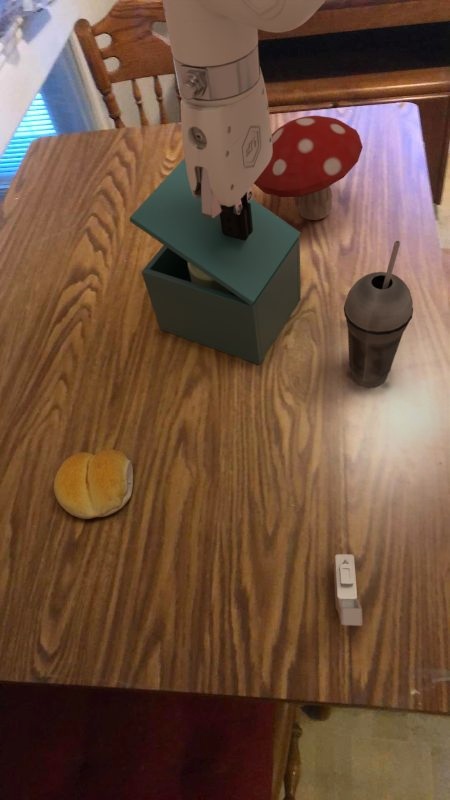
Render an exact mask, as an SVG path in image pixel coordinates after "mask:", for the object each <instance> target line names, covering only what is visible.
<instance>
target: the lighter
mask: <svg viewBox="0 0 450 800" xmlns="http://www.w3.org/2000/svg"><path fill="white" fill-rule="evenodd" d="M355 563H356V562H355V556H354V555H353V554H352V553H351V554H350V553H349V554H346V553H345V554H343V553H342V554H341V553H340V554H339V553H336V555H335V556H334V564H333V584H334V600H335V601H334V603H335V610H336V611H337V613H338V618H339V621H340V625H341V626H363V607H362V606H361V603H360V601H359V600H358V591H357V590H358V589H357V578H356V576H357V575H356V564H355Z"/></svg>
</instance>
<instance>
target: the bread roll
mask: <svg viewBox="0 0 450 800" xmlns="http://www.w3.org/2000/svg"><path fill="white" fill-rule="evenodd" d="M133 486H134V466H133V462H132V460H130V459H129V458H128V457H127V456H126V454H124V453H123V452H122V451H120V450H117V449H113V448H105V449H103V450H101V451H99V452H97V453H95V454H92V453H91V452H90V453H89V452H86V451H82V452H76V453H75V454H73V455H71V456H69V457H68V458H67V459H65V460H64V461H63V463H62V464H61V465H60V467H59V468H58V470H57V472H56V474H55V477H54V482H53V493H54V495H55V498H56V500H57V502H58V504H59V505H60V506H61V507H62V509H64V510H65V511H66V513H69V515H71V516H73V517H75V518H79V519H84V520H90V519H94V518H102V517H107V516H110V515H112V514H115V513H117V512H118V511H120V510H121V509H122V508H124V507H125V506H126V505H127V503H128V501H129V500H130V499H131V497H132V492H133Z"/></svg>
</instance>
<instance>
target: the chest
mask: <svg viewBox="0 0 450 800" xmlns="http://www.w3.org/2000/svg"><path fill="white" fill-rule="evenodd" d="M141 276H142V278H143V281H144V284H145V288H146V291H147V294H148V297H149V300H150V304H151V306H152V309H153V312H154V316H155V319H156V321H157V324H158V328H159V330H160V331H163V332H166V333H169V334H172V335H175V336H176V337H180V338H183V339H185V340H188V341H192V342H193V343H196V344H200V345H203V346H205V347H208V348H210V349H213V350H216V351H219V352H222V353H225V354H227V355H230V356H233V357H236V358H238V359H242V360H243V361H247V362H249V363H252V364H255V365H257V366H260V365H261V363H262V362H263V360H264V359H265V357H266V355H267V354H268V352H269V351H270V349H271V348H272V346H273V344H274V343H275V342H276V340H277V338H278V337H279V335H280V333H281V331H282V330H283V328H284V327H285V325H286V324H287V322H288V321H289V319H290V317H291V316H292V314H293V312H294V311H295V310H296V308H297V306H298V304H299V303H300V301H301V293H302V291H301V287H302V286H301V238H300V237H298V238H297V240H296V241H295V243H294V244H293V246H292V247H291V248H290V250H289V251H288V253H287V254H286V256H285V257H284V259H283V260H282V262H281V263H280V265H279V266H278V268H277V269H276V270H275V272H274V273H273V275H272V276H271V278H270V279H269V281H268V282H267V284H266V285H265V287H264V288H263V290H262V291H261V292H260V294H259V295H258V297H257V298H256V300H255V301H254V303H253V304H252V305H249V304H248V303H247V302H245V301H244V300H242V299H241V298H239V297H238V296H237V295H235V294H234V293H232V292H231V293H232V295H230V294H227V293H224V292H220V291H217V290H214V289H211V288H208V287H204V286H201V285H198V284H195V283H192V282H191V278H190V273H189V269H188V261H186V260H185V259H183V258H182V257H180V256H179V255H178V254H176V253H175V252H173V251H172V250H170V249H169V248H167V247H166V246H165V245H163V244H162V246H161V247H160V248H159V250H158V251H157V252H156V253H155V254H154V256H153V257H152V258H151V259H150V261H149V262H148V263H147V264H146V265H145V266H144V268H143V269H142V270H141Z"/></svg>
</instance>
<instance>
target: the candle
mask: <svg viewBox="0 0 450 800" xmlns="http://www.w3.org/2000/svg"><path fill="white" fill-rule="evenodd" d="M188 269H189V273H190V278H191V282H192V283H195V284H198V285H201V286H204V287H208V288H211V289H214V290H217V291H220V292H224V293H227V294H230V295H232V293H231V291H229V290H228V289H226V288H225V287H224V286H222V285H221V284H219V283H218V282H216V281H215V280H214V279H212V278H211V277H209V276H208V275H206V274H205V273H203V272H202V271H201V270H199V269H198V268H196V267H195V266H193V265H192V264H190V263H189V262H188Z"/></svg>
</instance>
